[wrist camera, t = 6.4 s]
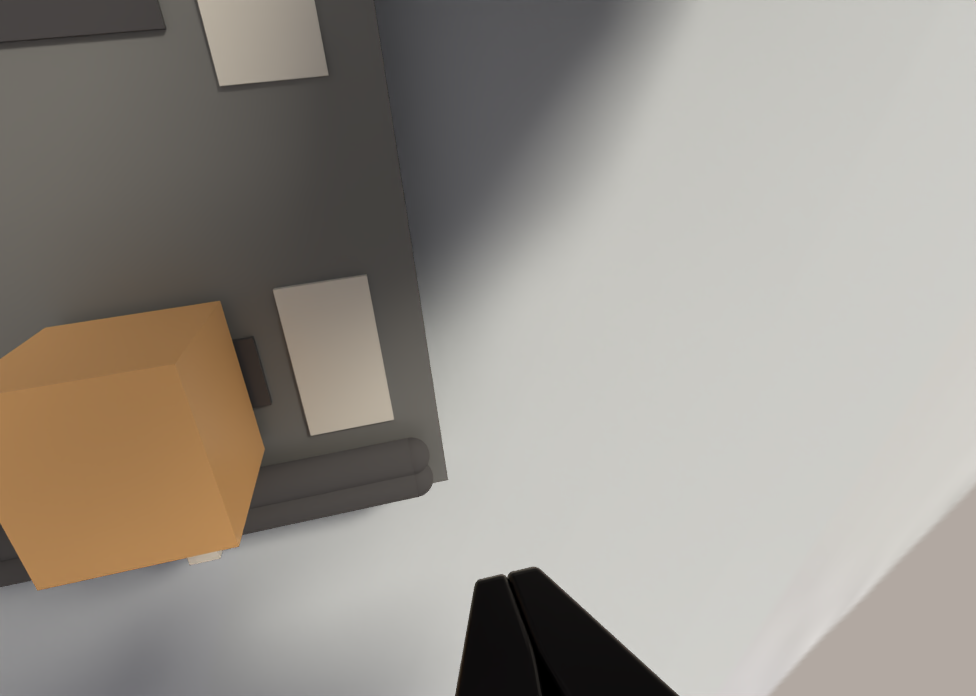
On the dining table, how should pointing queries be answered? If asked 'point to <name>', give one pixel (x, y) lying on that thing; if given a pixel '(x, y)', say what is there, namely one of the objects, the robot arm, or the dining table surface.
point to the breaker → (125, 444)
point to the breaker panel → (220, 199)
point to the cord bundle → (308, 491)
